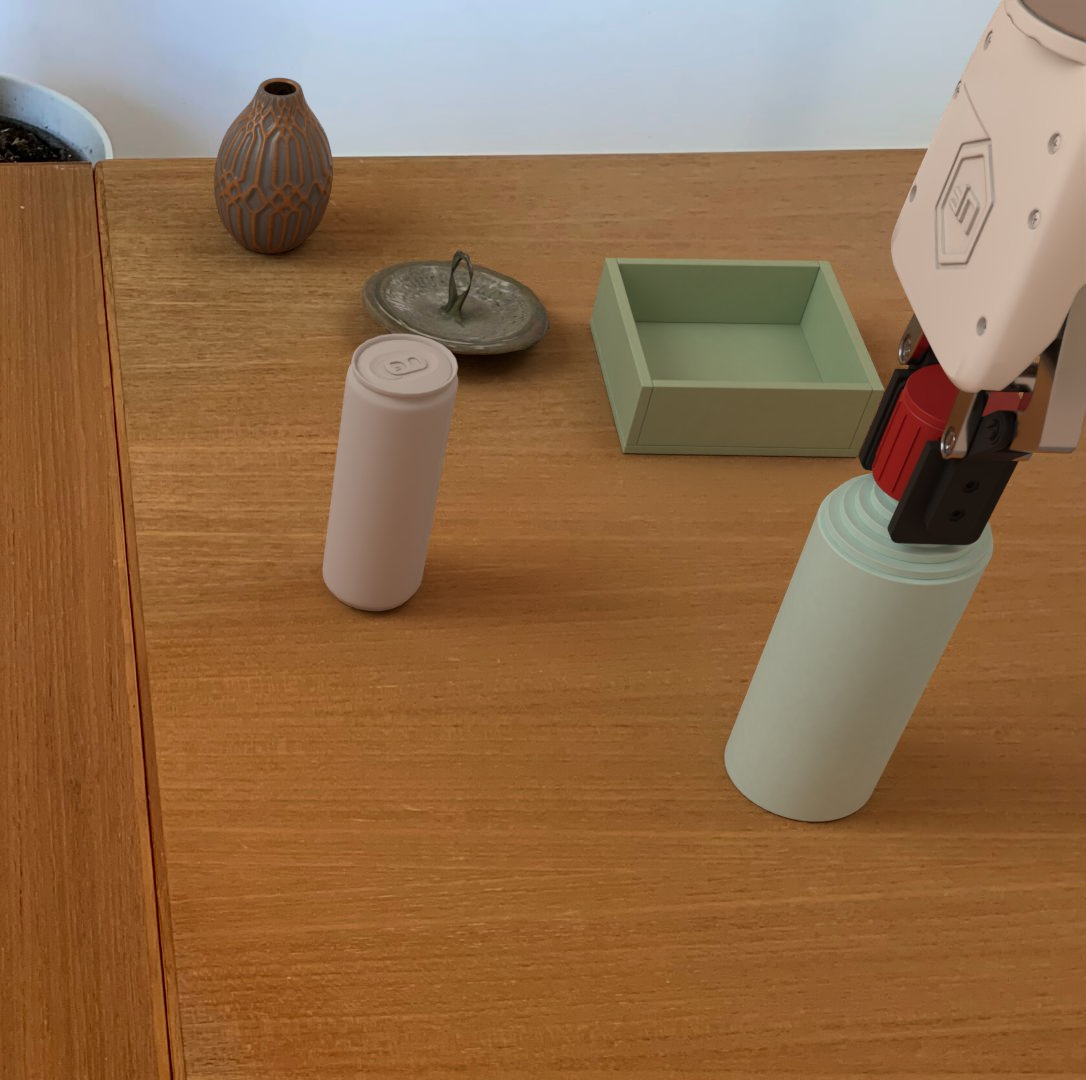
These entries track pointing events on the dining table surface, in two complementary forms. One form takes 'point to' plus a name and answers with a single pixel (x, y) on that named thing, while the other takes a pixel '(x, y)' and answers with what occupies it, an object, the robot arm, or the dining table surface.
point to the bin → (732, 358)
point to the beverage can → (388, 469)
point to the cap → (921, 425)
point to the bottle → (847, 657)
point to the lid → (456, 305)
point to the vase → (273, 170)
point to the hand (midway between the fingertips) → (916, 498)
